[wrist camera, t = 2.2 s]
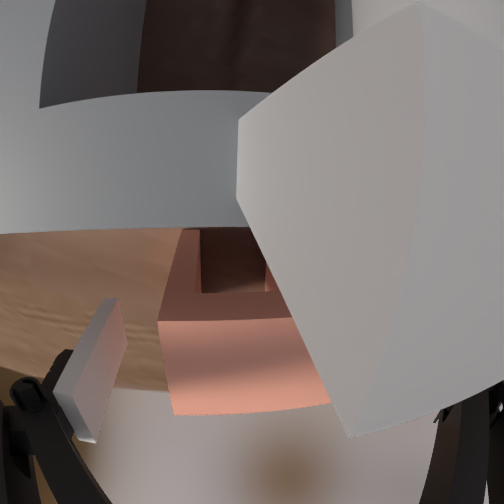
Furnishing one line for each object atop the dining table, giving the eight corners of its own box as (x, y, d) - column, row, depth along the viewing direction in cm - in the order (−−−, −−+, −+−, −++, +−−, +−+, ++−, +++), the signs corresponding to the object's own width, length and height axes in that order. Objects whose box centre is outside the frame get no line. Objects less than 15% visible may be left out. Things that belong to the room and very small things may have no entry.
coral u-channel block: (185, 296, 22) (174, 414, 11) (181, 229, 20) (157, 321, 10) (280, 293, 23) (330, 403, 12) (285, 229, 21) (354, 312, 11)
